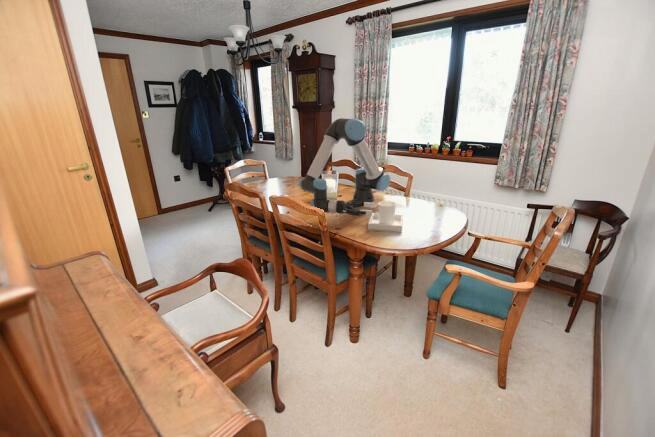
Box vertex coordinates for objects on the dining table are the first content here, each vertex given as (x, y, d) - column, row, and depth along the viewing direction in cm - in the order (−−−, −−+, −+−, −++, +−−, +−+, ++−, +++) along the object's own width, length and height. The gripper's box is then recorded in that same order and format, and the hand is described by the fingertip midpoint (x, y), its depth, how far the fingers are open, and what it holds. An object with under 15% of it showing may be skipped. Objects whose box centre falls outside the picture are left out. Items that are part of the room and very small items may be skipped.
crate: (372, 218, 186) (372, 212, 184) (402, 221, 181) (403, 214, 180) (367, 230, 170) (368, 223, 168) (401, 232, 165) (401, 226, 164)
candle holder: (394, 227, 170) (395, 206, 166) (376, 226, 172) (377, 206, 167) (394, 221, 179) (395, 201, 174) (377, 220, 181) (378, 200, 176)
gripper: (341, 206, 192) (375, 208, 186) (331, 220, 169) (370, 223, 164) (341, 194, 189) (376, 196, 184) (331, 207, 167) (371, 209, 161)
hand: (373, 208), depth 174 cm, fingers open, 13 cm apart
